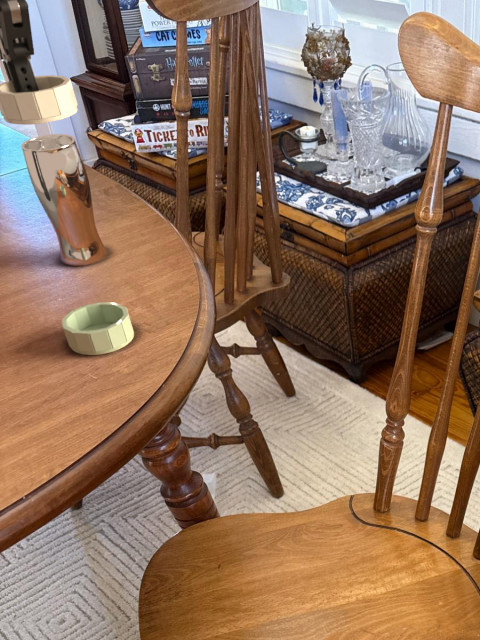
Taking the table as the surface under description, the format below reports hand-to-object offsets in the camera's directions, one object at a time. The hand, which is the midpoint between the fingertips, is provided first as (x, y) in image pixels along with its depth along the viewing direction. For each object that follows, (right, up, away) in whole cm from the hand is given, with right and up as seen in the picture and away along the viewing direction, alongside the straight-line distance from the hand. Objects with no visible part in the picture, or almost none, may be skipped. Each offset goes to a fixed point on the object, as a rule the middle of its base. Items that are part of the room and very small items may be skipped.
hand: (28, 99), depth 83 cm
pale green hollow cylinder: (+4, -23, +9) cm, 25 cm away
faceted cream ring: (+2, -2, -1) cm, 3 cm away
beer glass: (-5, -8, +26) cm, 28 cm away
